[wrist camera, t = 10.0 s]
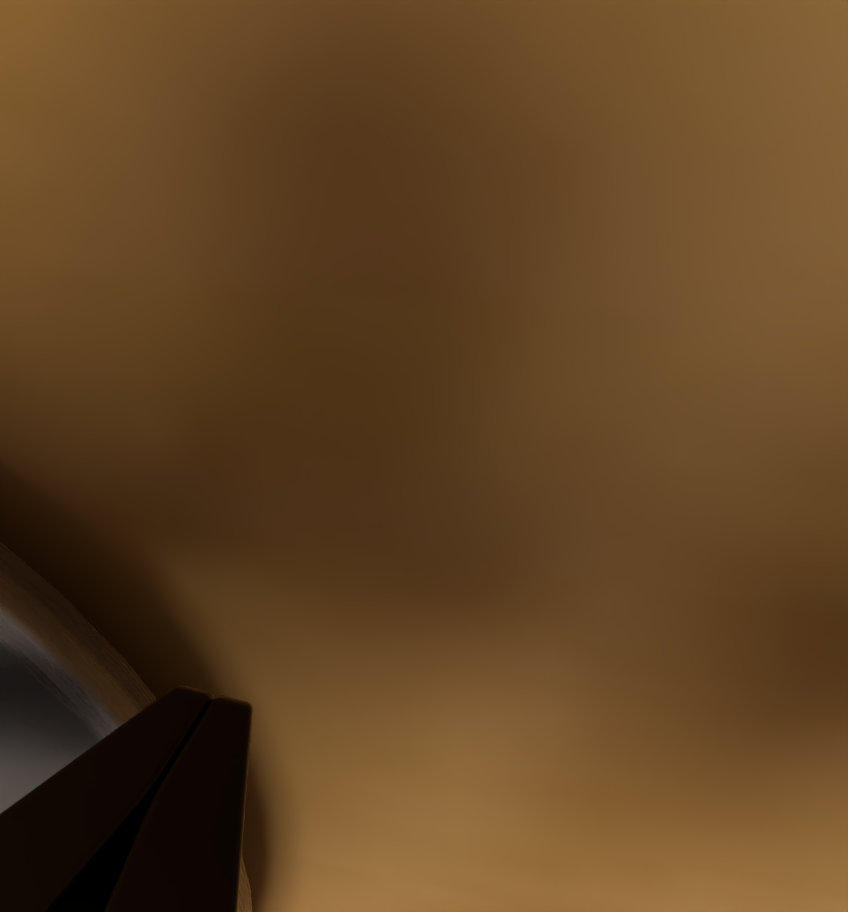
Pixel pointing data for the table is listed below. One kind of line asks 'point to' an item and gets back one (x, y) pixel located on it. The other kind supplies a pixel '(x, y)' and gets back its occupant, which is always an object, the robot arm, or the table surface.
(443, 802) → the table surface
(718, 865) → the table surface
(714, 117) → the table surface
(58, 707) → the turntable
